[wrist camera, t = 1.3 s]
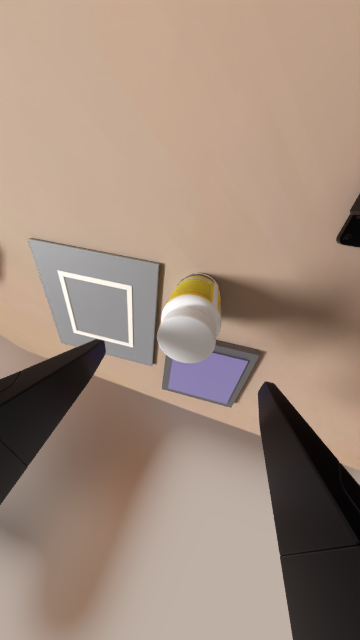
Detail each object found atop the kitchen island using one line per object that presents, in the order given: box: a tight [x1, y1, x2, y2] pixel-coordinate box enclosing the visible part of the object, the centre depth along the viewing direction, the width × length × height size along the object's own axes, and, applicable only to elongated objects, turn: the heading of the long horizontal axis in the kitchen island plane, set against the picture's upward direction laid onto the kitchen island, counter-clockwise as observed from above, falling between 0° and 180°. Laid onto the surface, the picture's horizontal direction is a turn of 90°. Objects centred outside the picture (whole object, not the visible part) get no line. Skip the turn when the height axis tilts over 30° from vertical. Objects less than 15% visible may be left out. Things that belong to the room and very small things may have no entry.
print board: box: [28, 238, 160, 366], centre depth 22 cm, size 15×15×1 cm
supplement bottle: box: [157, 273, 221, 363], centre depth 14 cm, size 5×5×8 cm
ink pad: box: [162, 340, 260, 407], centre depth 23 cm, size 11×11×1 cm
